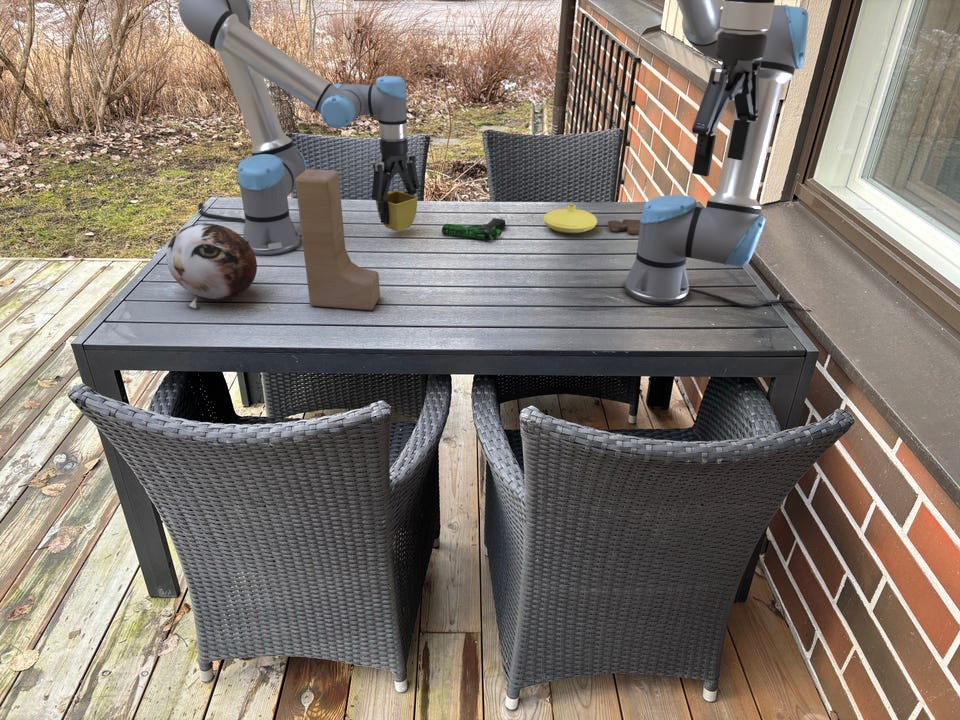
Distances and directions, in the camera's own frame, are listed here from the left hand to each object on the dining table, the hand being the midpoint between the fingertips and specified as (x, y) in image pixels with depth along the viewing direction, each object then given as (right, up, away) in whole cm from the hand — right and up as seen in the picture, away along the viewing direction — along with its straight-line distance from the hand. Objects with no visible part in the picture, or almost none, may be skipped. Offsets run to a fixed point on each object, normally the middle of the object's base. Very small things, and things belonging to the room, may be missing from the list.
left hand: (397, 219), depth 203 cm
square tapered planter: (0, -2, +1) cm, 3 cm away
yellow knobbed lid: (+50, -2, +8) cm, 51 cm away
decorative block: (-8, -27, -36) cm, 46 cm away
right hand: (+65, -7, -80) cm, 103 cm away
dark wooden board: (+75, -2, +8) cm, 75 cm away
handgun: (+23, -3, +4) cm, 23 cm away
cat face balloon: (-38, -25, -34) cm, 57 cm away
